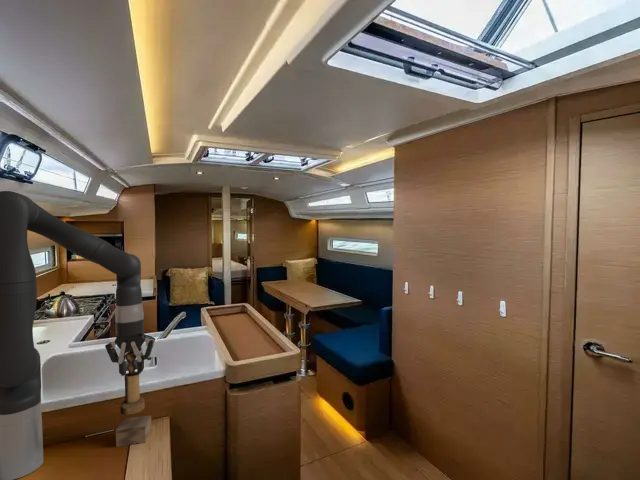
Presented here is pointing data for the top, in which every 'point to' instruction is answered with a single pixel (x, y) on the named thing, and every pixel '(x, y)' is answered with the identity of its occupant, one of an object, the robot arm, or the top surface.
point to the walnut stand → (133, 431)
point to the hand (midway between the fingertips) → (131, 373)
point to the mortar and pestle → (132, 389)
